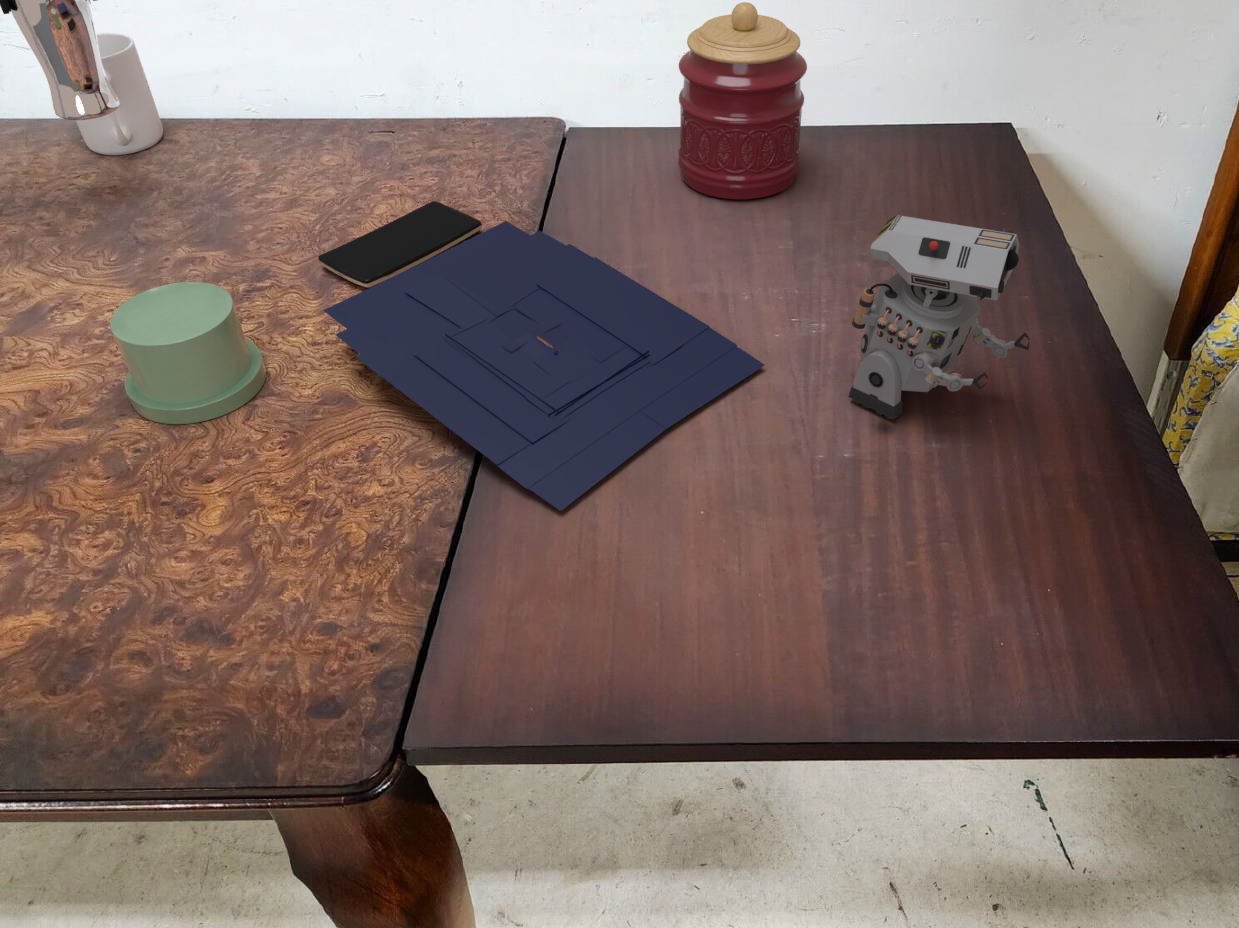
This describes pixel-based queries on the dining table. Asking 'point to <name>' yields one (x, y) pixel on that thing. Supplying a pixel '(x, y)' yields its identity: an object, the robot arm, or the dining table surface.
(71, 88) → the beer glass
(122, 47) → the mug
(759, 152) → the kitchen canister
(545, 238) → the papers
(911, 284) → the figurine
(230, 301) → the flowerpot
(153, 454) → the dining table surface
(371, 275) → the smartphone
